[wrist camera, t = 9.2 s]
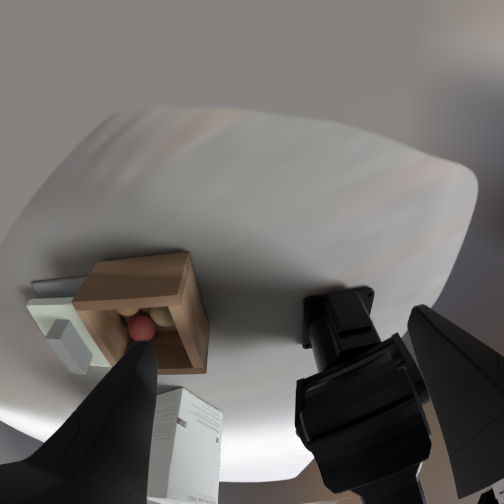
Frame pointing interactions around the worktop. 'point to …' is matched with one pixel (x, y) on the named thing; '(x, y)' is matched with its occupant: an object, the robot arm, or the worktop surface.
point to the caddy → (147, 310)
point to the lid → (66, 334)
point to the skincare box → (184, 450)
